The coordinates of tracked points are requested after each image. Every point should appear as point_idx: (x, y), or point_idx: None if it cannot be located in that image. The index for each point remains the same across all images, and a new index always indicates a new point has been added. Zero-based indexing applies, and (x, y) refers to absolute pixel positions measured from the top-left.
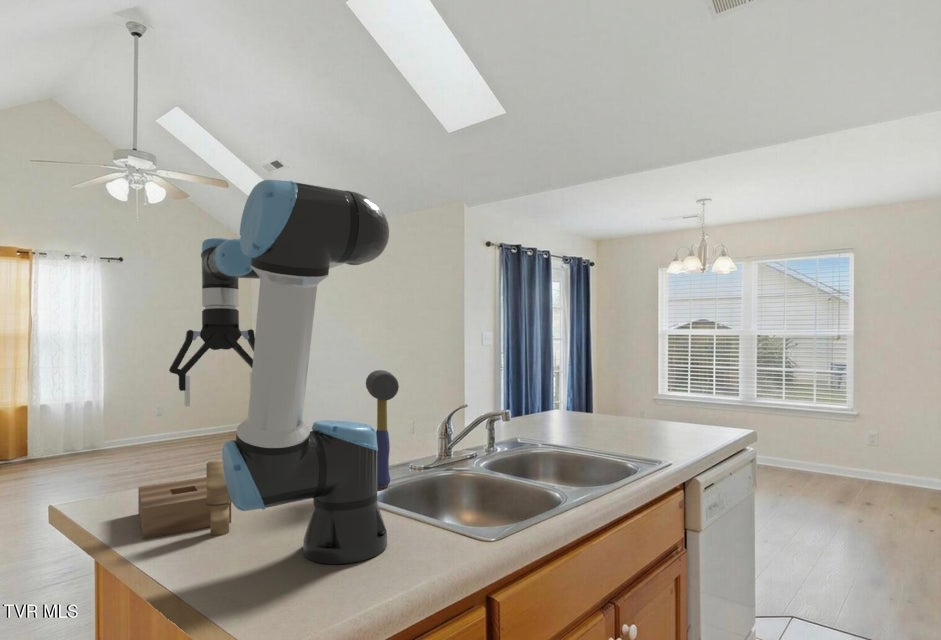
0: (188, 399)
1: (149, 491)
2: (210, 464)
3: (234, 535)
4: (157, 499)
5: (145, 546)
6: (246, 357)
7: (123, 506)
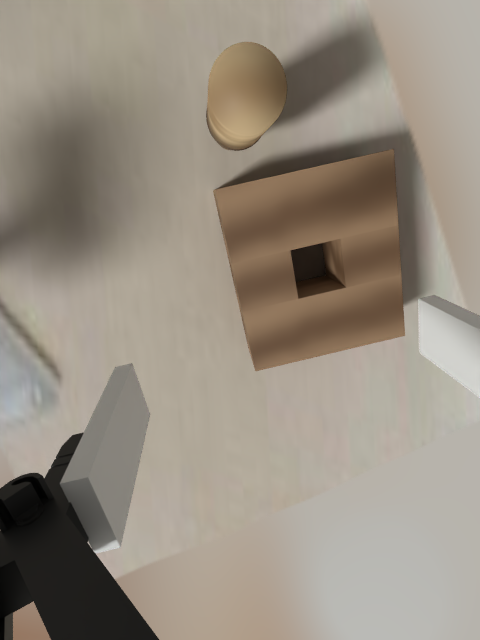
0: (444, 307)
1: (384, 286)
2: (275, 70)
3: (201, 97)
4: (367, 210)
5: (358, 109)
6: (103, 618)
7: (402, 371)
